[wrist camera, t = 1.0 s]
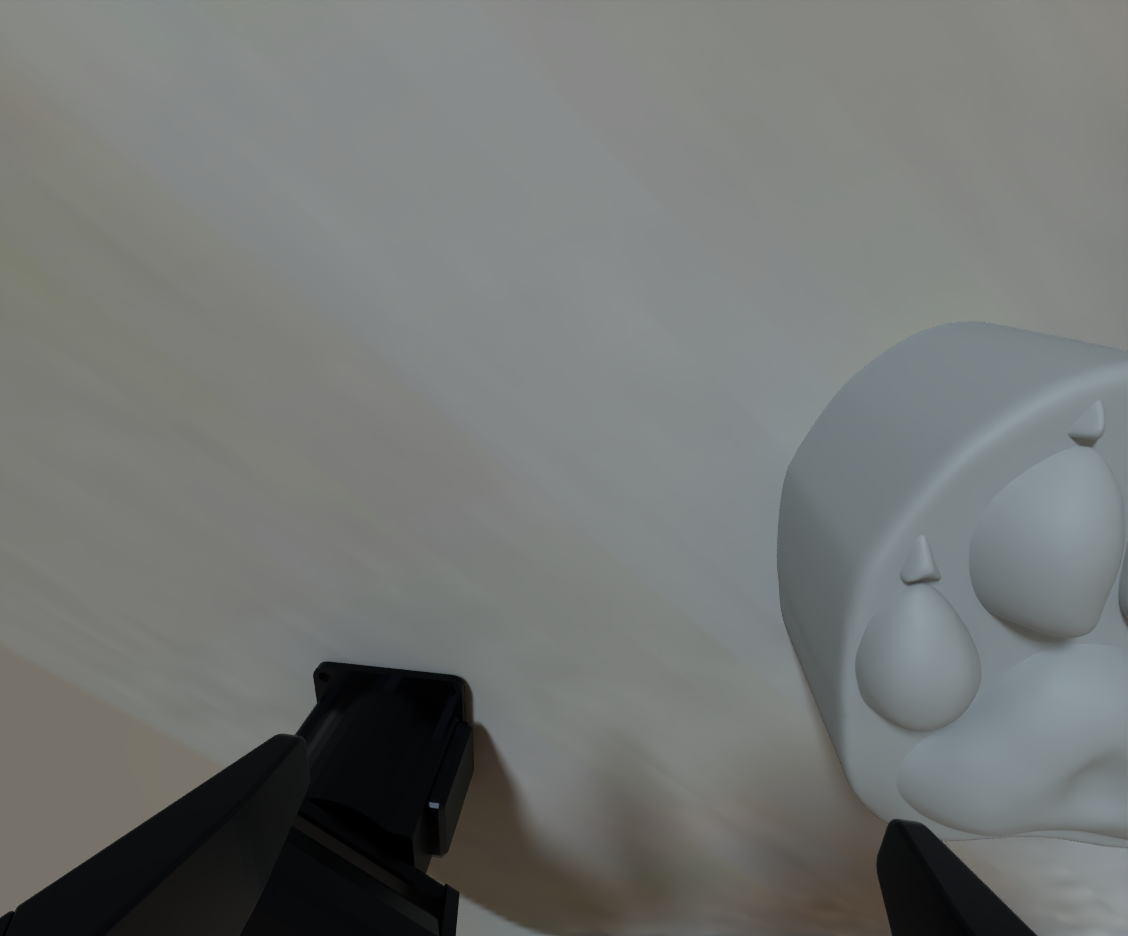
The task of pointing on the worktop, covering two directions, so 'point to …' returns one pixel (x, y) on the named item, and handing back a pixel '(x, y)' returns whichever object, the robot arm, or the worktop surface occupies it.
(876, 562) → the lumpy-topped squat cylinder
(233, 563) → the worktop surface
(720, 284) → the worktop surface
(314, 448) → the worktop surface
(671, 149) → the worktop surface
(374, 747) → the robot arm
